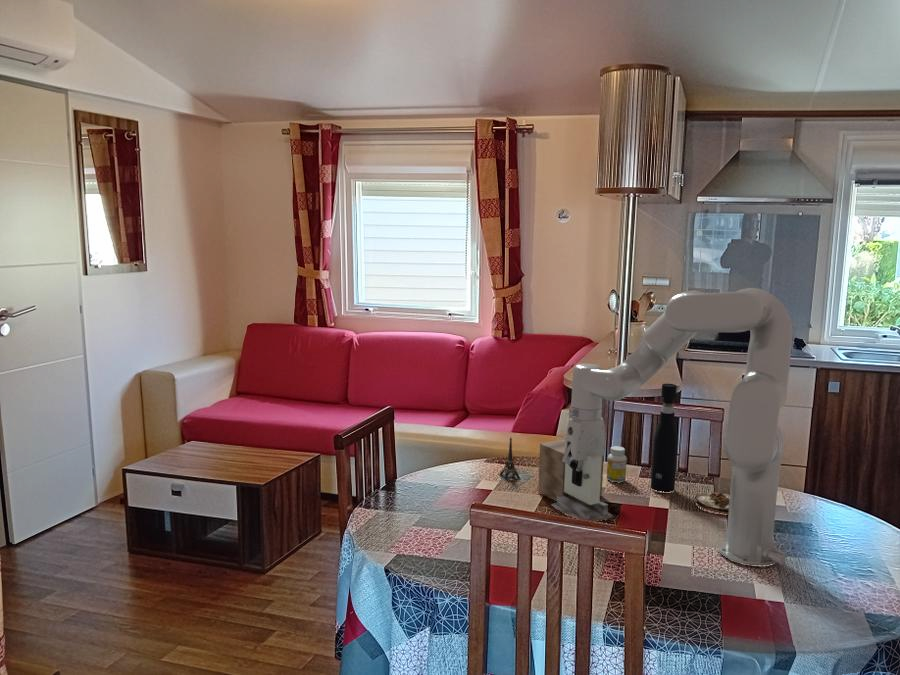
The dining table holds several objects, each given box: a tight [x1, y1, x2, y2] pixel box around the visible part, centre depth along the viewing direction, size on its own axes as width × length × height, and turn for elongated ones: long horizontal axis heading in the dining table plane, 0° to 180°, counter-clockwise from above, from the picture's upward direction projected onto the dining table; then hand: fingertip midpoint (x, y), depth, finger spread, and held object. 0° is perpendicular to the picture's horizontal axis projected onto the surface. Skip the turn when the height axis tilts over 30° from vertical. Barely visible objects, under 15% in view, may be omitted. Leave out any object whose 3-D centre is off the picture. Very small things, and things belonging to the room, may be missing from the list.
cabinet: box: [537, 438, 613, 521], centre depth 189 cm, size 23×18×14 cm
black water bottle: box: [650, 383, 679, 492], centre depth 199 cm, size 6×6×30 cm
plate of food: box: [694, 491, 730, 514], centre depth 189 cm, size 15×15×4 cm
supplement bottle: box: [606, 445, 628, 483], centre depth 207 cm, size 5×5×10 cm
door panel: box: [564, 454, 602, 505], centre depth 182 cm, size 10×4×12 cm, turn 31°
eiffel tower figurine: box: [498, 437, 533, 489], centre depth 208 cm, size 15×10×13 cm
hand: (582, 482), depth 183 cm, fingers closed on door panel, 3 cm apart
